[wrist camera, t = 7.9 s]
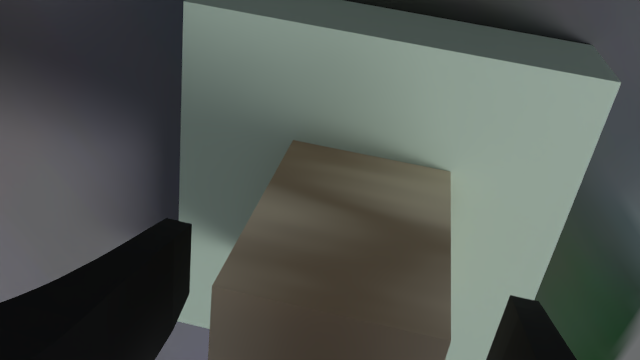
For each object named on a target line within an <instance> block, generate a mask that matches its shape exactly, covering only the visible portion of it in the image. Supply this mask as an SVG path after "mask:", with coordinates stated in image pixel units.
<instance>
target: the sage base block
mask: <svg viewBox="0 0 640 360" xmlns="http://www.w3.org/2000/svg"><path fill="white" fill-rule="evenodd" d="M620 84H621V82H620V80H619V79H618V78H617V76H616V75H615V74H614V73H613V71H612V70H611V69H610V67H609V66H608V65H607V63H606V62H605V61H604V59H603V58H602V57H601V55H600V54H599V53H598V52H597V50H596V49H595V48H594V46H593V45H588V44H582V43H577V42H571V41H566V40H560V39H555V38H549V37H544V36H538V35H533V34H527V33H522V32H516V31H510V30H505V29H499V28H494V27H488V26H483V25H477V24H472V23H466V22H461V21H455V20H450V19H444V18H439V17H433V16H427V15H422V14H416V13H411V12H405V11H400V10H394V9H389V8H383V7H378V6H372V5H367V4H361V3H356V2H350V1H344V0H185V1H183V47H182V93H181V139H180V185H179V221H181V222H186V223H190V224H192V235H191V264H190V292H189V296H188V298H187V300H186V303H185V305H184V307H183V309H182V312H181V314H180V316H179V318H178V320H177V321H179V322H183V323H187V324H191V325H195V326H199V327H203V328H208V329H210V313H211V294H212V285H213V283H214V281H215V280H216V278H217V276H218V274H219V272H220V271H221V269H222V267H223V265H224V263H225V262H226V260H227V258H228V256H229V254H230V253H231V251H232V249H233V247H234V245H235V244H236V242H237V240H238V238H239V236H240V235H241V233H242V231H243V229H244V227H245V226H246V224H247V222H248V220H249V218H250V217H251V215H252V213H253V211H254V209H255V208H256V206H257V204H258V202H259V200H260V199H261V197H262V195H263V193H264V191H265V190H266V188H267V186H268V184H269V182H270V181H271V179H272V177H273V175H274V173H275V172H276V170H277V168H278V166H279V164H280V163H281V161H282V159H283V157H284V155H285V154H286V152H287V150H288V148H289V146H290V145H291V143H292V141H293V140H295V141H300V142H305V143H310V144H315V145H320V146H325V147H330V148H335V149H340V150H345V151H350V152H355V153H360V154H365V155H370V156H375V157H380V158H385V159H390V160H395V161H400V162H405V163H410V164H415V165H420V166H425V167H430V168H435V169H440V170H445V171H450V172H451V343H450V346H449V349H448V352H447V355H446V359H445V360H486V358H487V356H488V353H489V350H490V348H491V345H492V342H493V340H494V337H495V334H496V332H497V329H498V326H499V324H500V321H501V318H502V316H503V313H504V310H505V307H506V305H507V302H508V299H509V297H510V295H512V296H516V297H521V298H525V299H530V300H534V299H535V296H536V294H537V291H538V289H539V286H540V284H541V281H542V279H543V276H544V274H545V271H546V269H547V266H548V264H549V261H550V259H551V256H552V254H553V251H554V249H555V246H556V244H557V241H558V239H559V236H560V234H561V232H562V229H563V227H564V224H565V222H566V219H567V217H568V214H569V212H570V209H571V207H572V204H573V202H574V199H575V197H576V194H577V192H578V189H579V187H580V184H581V182H582V179H583V177H584V174H585V172H586V169H587V167H588V164H589V162H590V159H591V157H592V154H593V152H594V149H595V147H596V144H597V142H598V139H599V137H600V134H601V132H602V129H603V127H604V124H605V122H606V119H607V117H608V114H609V112H610V109H611V107H612V104H613V102H614V99H615V97H616V94H617V92H618V89H619V87H620Z"/></svg>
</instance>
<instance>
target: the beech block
mask: <svg viewBox="0 0 640 360" xmlns="http://www.w3.org/2000/svg"><path fill="white" fill-rule="evenodd" d="M450 343H451V172H450V171H445V170H440V169H435V168H430V167H425V166H420V165H415V164H410V163H405V162H400V161H395V160H390V159H385V158H380V157H375V156H370V155H365V154H360V153H355V152H350V151H345V150H340V149H335V148H330V147H325V146H320V145H315V144H310V143H305V142H300V141H295V140H293V141H292V143H291V145H290V146H289V148H288V150H287V152H286V154H285V155H284V157H283V159H282V161H281V163H280V164H279V166H278V168H277V170H276V172H275V173H274V175H273V177H272V179H271V181H270V182H269V184H268V186H267V188H266V190H265V191H264V193H263V195H262V197H261V199H260V200H259V202H258V204H257V206H256V208H255V209H254V211H253V213H252V215H251V217H250V218H249V220H248V222H247V224H246V226H245V227H244V229H243V231H242V233H241V235H240V236H239V238H238V240H237V242H236V244H235V245H234V247H233V249H232V251H231V253H230V254H229V256H228V258H227V260H226V262H225V263H224V265H223V267H222V269H221V271H220V272H219V274H218V276H217V278H216V280H215V281H214V283H213V285H212V294H211V313H210V333H209V353H208V360H445V359H446V355H447V352H448V349H449V346H450Z"/></svg>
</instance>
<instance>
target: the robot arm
mask: <svg viewBox="0 0 640 360" xmlns="http://www.w3.org/2000/svg"><path fill="white" fill-rule="evenodd" d="M191 235H192V224H190V223H186V222H181V221H177V220H172V219H168V218H166V219H164V220H163V221H161V222H159V223H157V224H156V225H154V226H152V227H150V228H149V229H147V230H145V231H144V232H142V233H141V234H139V235H137V236H136V237H134V238H132V239H131V240H129V241H127V242H125V243H124V244H122V245H120V246H118V247H117V248H115V249H113V250H112V251H110V252H108V253H106V254H105V255H103V256H101V257H99V258H98V259H96V260H94V261H92V262H90V263H88V264H86V265H84V266H82V267H80V268H78V269H76V270H74V271H72V272H70V273H68V274H66V275H65V276H63V277H61V278H59V279H56V280H54V281H52V282H50V283H48V284H46V285H43V286H41V287H39V288H37V289H34V290H32V291H29V292H27V293H24V294H22V295H19V296H17V297H15V298H12V299H9V300H7V301H4V302H1V303H0V360H155V358H156V357H157V355H158V353H159V352H160V350H161V349H162V347H163V345H164V344H165V342H166V341H167V339H168V337H169V336H170V334H171V332H172V331H173V329H174V327H175V324H176V322H177V320H178V318H179V316H180V314H181V312H182V309H183V307H184V305H185V303H186V300H187V298H188V296H189V292H190V264H191ZM486 360H577V359H576V358H575V356H574V355H573V353H572V352H571V350H570V349H569V347H568V346H567V344H566V343H565V341H564V340H563V338H562V337H561V335H560V334H559V332H558V330H557V329H556V327H555V326H554V324H553V323H552V321H551V320H550V318H549V316H548V315H547V313H546V312H545V310H544V309H543V307H542V306H541V304H540V303H539V301H534V300H530V299H525V298H521V297H516V296H512V295H510V297H509V299H508V302H507V305H506V307H505V310H504V313H503V316H502V318H501V321H500V324H499V326H498V329H497V332H496V334H495V337H494V340H493V342H492V345H491V348H490V350H489V353H488V356H487V358H486Z"/></svg>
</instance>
